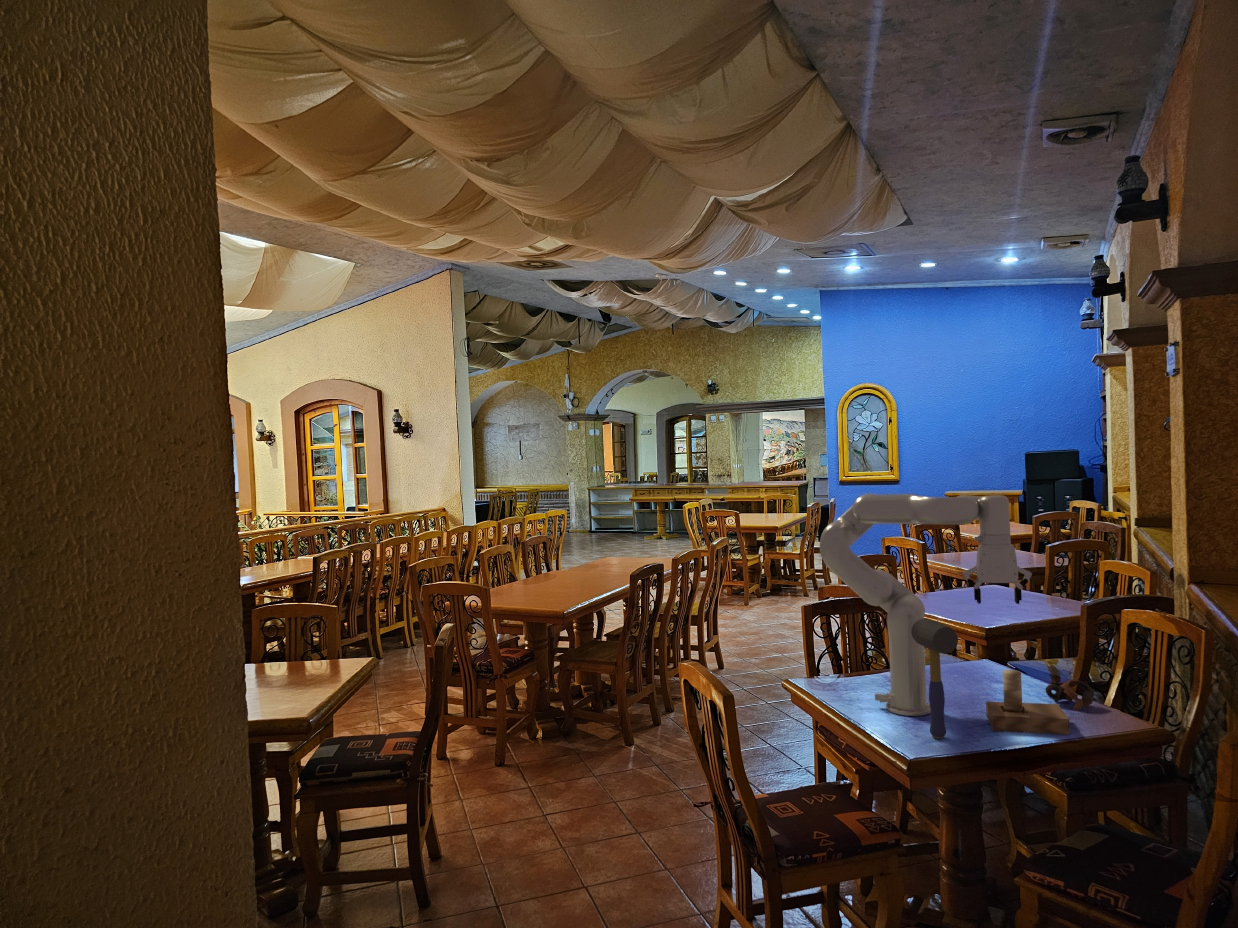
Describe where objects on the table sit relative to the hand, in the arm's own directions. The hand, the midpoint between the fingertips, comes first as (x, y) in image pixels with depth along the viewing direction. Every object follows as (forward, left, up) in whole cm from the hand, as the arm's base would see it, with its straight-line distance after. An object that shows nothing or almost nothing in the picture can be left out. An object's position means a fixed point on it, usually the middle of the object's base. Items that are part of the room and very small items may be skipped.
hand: (997, 602), depth 229 cm
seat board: (+5, -6, -31) cm, 32 cm away
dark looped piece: (+19, +14, -32) cm, 39 cm away
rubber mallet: (-18, -20, -32) cm, 41 cm away
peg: (+2, -6, -31) cm, 32 cm away
